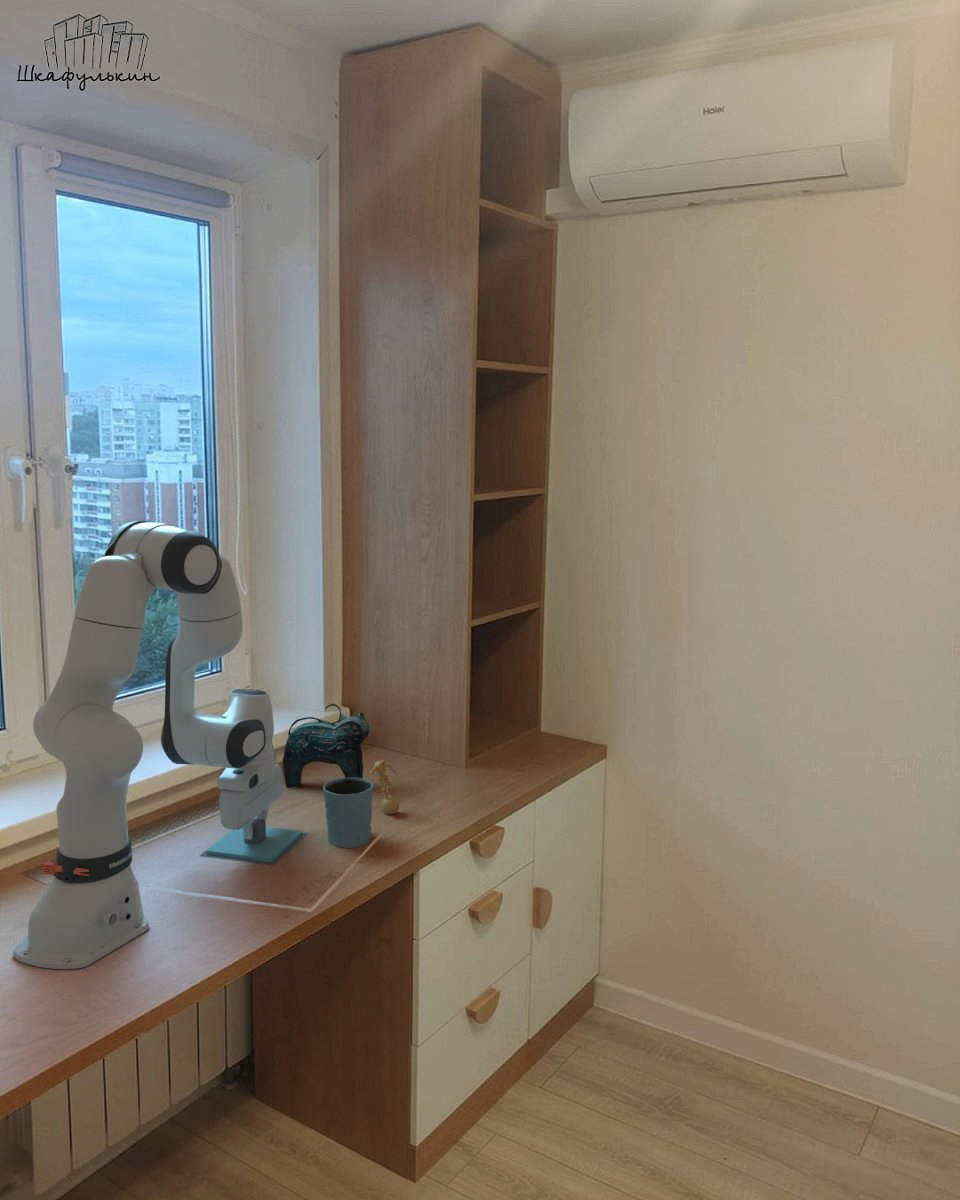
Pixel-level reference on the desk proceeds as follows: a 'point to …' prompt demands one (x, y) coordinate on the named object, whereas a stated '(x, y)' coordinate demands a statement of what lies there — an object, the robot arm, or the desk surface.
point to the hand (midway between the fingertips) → (255, 833)
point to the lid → (255, 843)
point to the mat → (260, 861)
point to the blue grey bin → (348, 811)
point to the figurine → (388, 803)
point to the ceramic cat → (325, 746)
